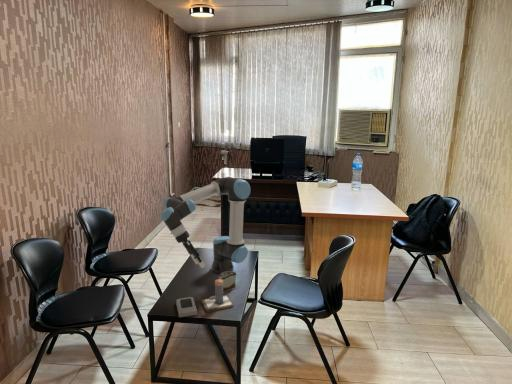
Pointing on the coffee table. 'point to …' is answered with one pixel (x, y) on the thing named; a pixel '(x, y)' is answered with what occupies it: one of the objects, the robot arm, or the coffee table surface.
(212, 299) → the clipboard
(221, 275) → the food container
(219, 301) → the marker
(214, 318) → the coffee table surface
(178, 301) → the grey framed panel
